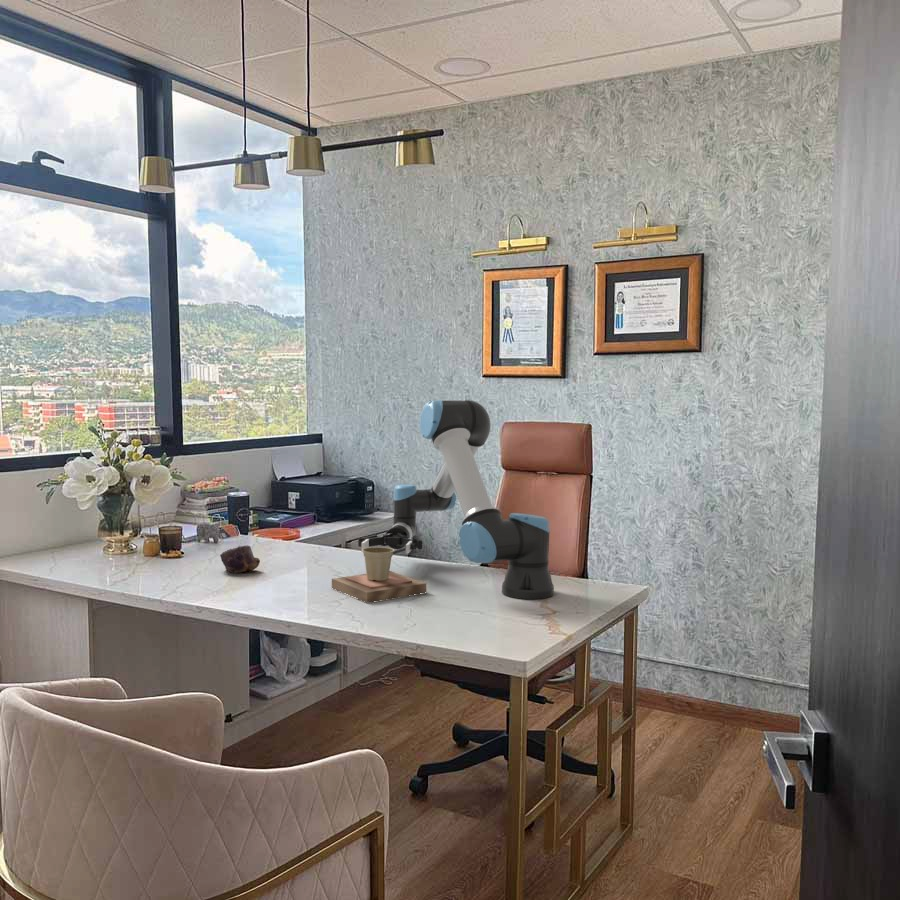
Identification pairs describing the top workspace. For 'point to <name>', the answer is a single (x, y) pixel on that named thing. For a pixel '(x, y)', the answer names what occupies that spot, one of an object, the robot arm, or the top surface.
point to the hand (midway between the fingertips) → (384, 548)
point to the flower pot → (377, 562)
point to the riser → (378, 587)
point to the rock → (239, 559)
